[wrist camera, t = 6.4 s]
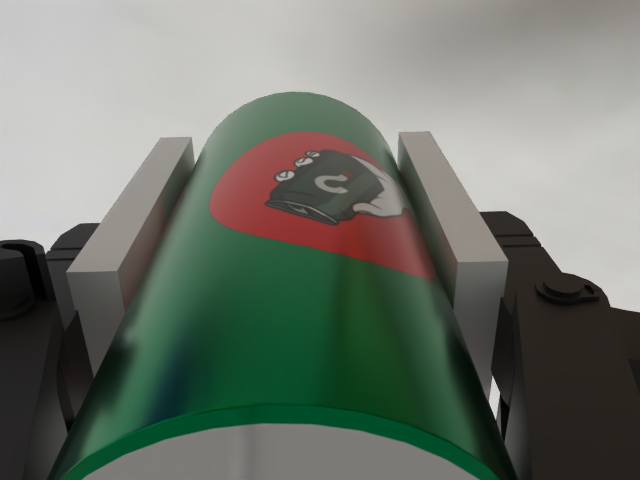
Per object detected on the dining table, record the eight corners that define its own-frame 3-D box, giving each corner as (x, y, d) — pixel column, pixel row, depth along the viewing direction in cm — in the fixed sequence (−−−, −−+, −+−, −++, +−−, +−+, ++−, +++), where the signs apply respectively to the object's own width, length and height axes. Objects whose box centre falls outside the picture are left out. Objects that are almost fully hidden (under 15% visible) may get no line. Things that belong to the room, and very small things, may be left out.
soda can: (163, 127, 15) (-203, 639, 4) (359, 54, 14) (526, 439, 3) (245, 293, 17) (144, 903, 6) (419, 235, 16) (634, 814, 6)
